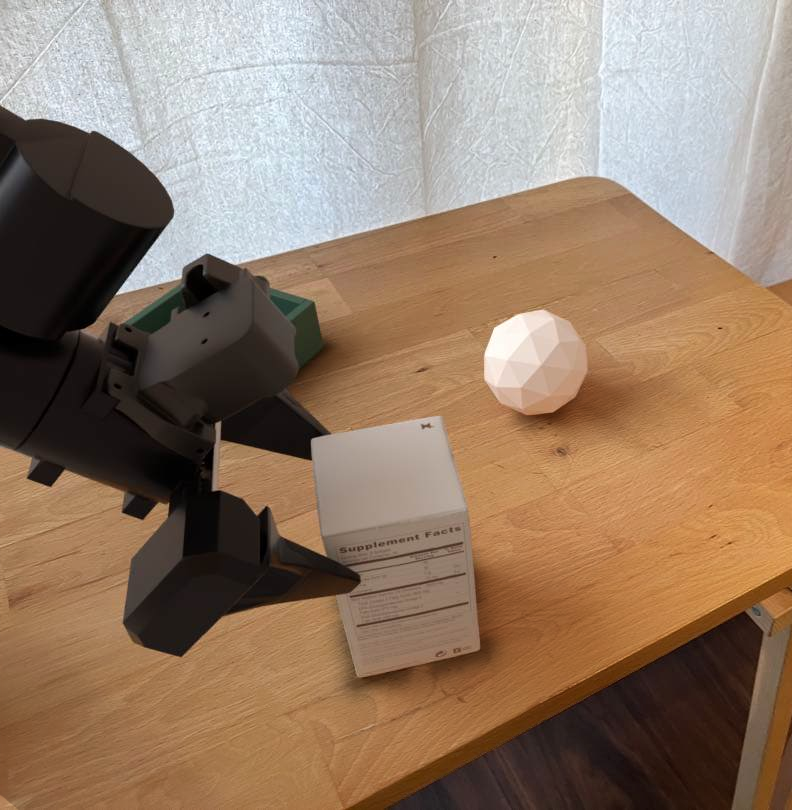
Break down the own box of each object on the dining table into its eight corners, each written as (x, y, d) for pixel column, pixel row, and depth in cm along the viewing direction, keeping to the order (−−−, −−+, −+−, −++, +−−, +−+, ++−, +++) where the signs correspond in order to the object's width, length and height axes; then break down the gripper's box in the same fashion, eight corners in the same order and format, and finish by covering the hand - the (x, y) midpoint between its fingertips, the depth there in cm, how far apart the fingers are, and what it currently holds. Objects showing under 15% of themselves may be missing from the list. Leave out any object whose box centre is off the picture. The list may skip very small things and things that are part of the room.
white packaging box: (343, 581, 55) (307, 433, 47) (460, 558, 56) (445, 410, 48) (354, 683, 50) (316, 536, 41) (483, 655, 51) (471, 507, 43)
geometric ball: (561, 431, 69) (612, 398, 63) (466, 422, 66) (509, 385, 59) (556, 343, 72) (604, 302, 65) (465, 329, 69) (505, 285, 62)
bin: (115, 387, 69) (95, 341, 66) (216, 312, 77) (203, 267, 74) (229, 431, 66) (214, 383, 63) (324, 347, 73) (314, 301, 70)
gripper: (119, 404, 28) (483, 562, 37) (164, 152, 41) (421, 312, 50) (-44, 607, 31) (323, 704, 40) (47, 314, 45) (306, 436, 54)
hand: (348, 516), depth 46 cm, fingers open, 9 cm apart
